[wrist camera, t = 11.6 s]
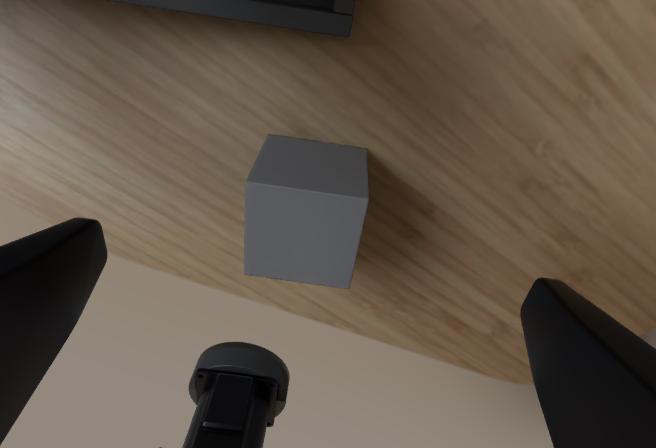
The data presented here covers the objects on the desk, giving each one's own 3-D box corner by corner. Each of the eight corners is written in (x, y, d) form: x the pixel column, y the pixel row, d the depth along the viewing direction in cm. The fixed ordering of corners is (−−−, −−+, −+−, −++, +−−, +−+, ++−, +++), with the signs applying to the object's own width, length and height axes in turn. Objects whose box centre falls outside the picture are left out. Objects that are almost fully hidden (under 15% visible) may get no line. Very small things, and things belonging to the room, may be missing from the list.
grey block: (351, 228, 23) (349, 289, 19) (263, 216, 23) (243, 275, 19) (367, 148, 21) (369, 199, 16) (268, 133, 20) (245, 181, 16)
